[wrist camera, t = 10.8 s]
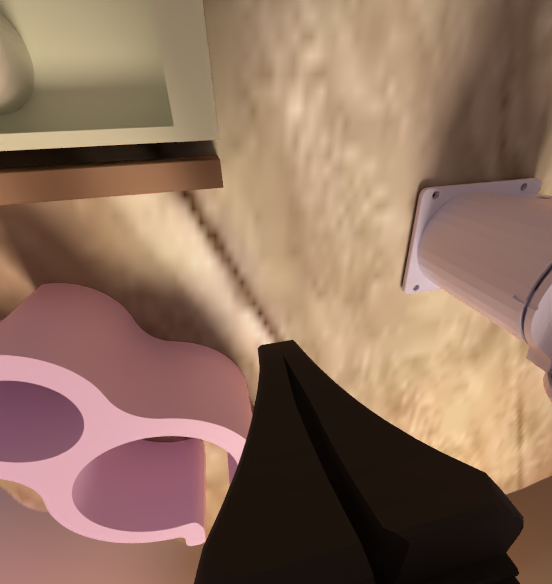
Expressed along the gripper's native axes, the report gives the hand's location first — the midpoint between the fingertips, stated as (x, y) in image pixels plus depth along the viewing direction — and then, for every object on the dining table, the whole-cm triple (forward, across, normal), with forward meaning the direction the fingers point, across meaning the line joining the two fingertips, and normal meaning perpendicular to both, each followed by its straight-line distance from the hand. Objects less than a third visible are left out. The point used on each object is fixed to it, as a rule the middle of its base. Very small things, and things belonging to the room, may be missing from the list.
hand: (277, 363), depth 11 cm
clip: (+10, +9, +9) cm, 16 cm away
